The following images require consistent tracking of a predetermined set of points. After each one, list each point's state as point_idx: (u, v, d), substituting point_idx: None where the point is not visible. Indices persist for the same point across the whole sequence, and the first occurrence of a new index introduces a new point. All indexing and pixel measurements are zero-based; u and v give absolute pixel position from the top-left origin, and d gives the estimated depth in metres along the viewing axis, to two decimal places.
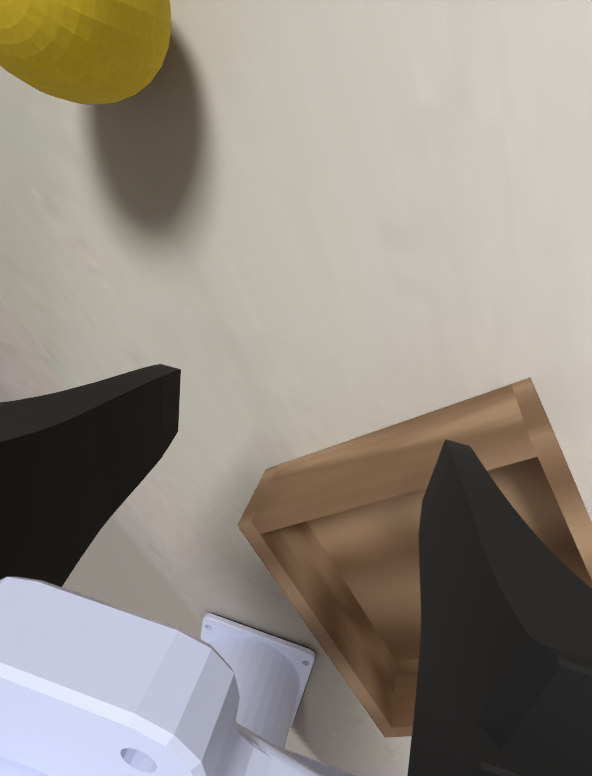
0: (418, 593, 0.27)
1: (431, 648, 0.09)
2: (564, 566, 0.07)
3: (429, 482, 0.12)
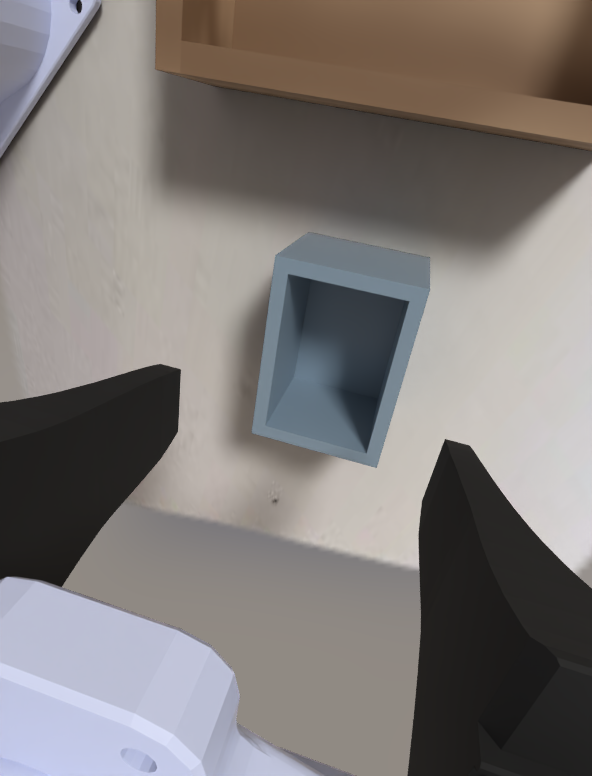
0: None
1: (431, 648, 0.09)
2: (564, 566, 0.07)
3: (429, 482, 0.12)
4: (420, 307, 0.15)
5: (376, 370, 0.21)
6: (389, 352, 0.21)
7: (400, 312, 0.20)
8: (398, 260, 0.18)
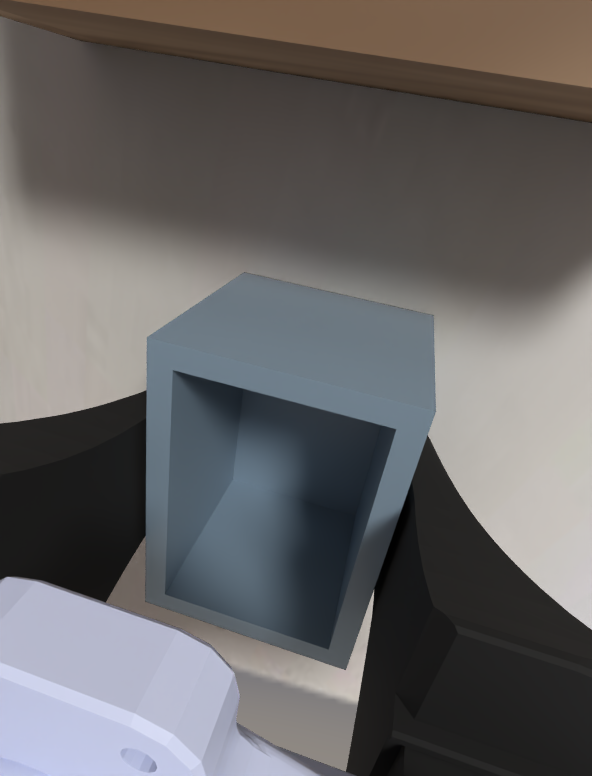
0: None
1: (376, 630, 0.09)
2: (496, 546, 0.08)
3: None
4: (416, 440, 0.08)
5: (352, 477, 0.14)
6: (371, 454, 0.14)
7: None
8: (380, 329, 0.10)
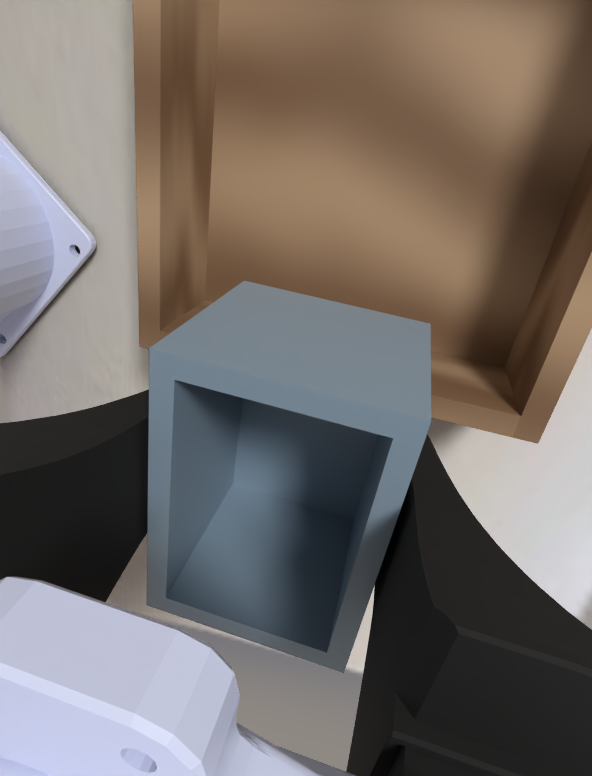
0: (306, 186, 0.17)
1: (376, 630, 0.09)
2: (496, 547, 0.08)
3: None
4: (412, 450, 0.08)
5: (350, 482, 0.14)
6: (369, 459, 0.14)
7: None
8: (378, 338, 0.11)
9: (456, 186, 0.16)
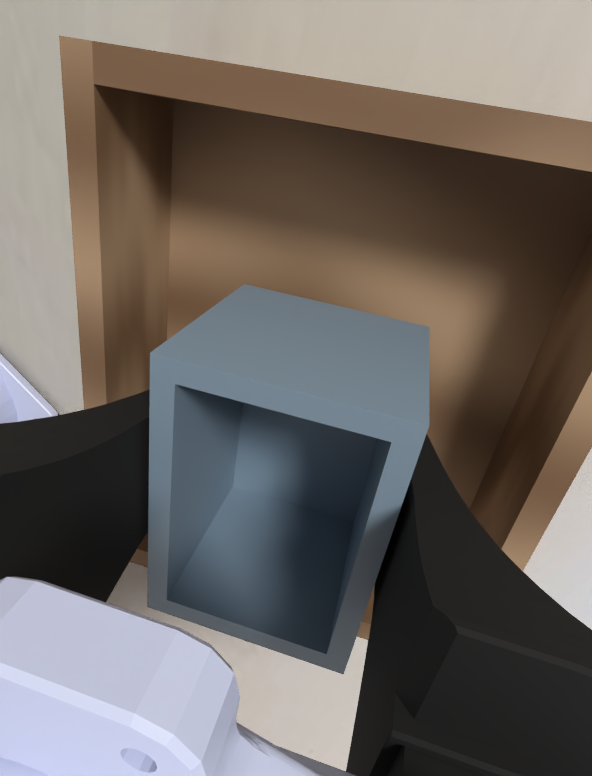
0: None
1: (376, 630, 0.09)
2: (496, 546, 0.08)
3: None
4: (411, 453, 0.08)
5: (350, 484, 0.14)
6: (368, 461, 0.14)
7: None
8: (377, 341, 0.11)
9: None
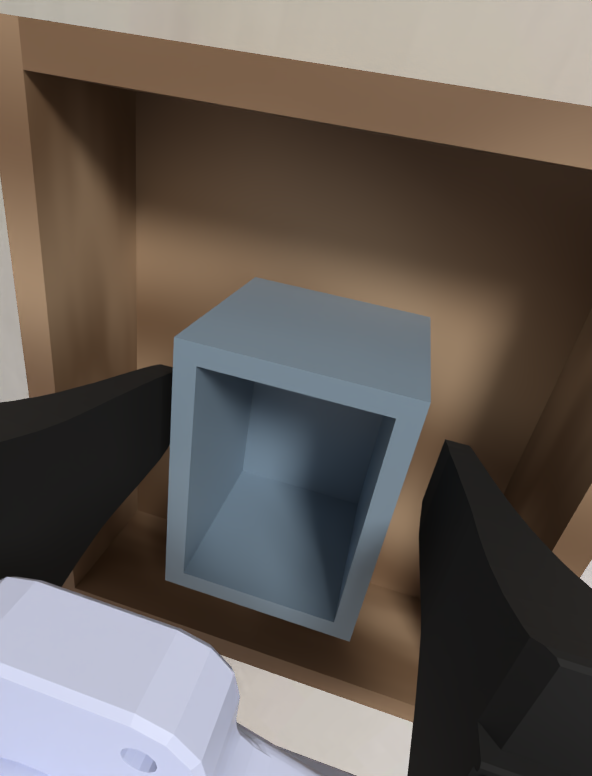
0: None
1: (431, 648, 0.09)
2: (564, 566, 0.07)
3: (429, 482, 0.12)
4: (413, 429, 0.09)
5: (355, 468, 0.15)
6: (372, 446, 0.15)
7: None
8: (382, 329, 0.11)
9: None
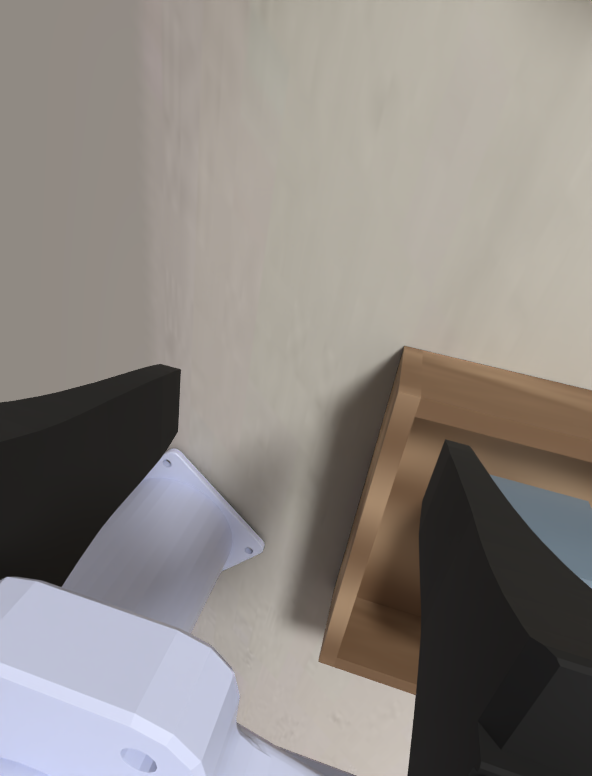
0: None
1: (431, 648, 0.09)
2: (564, 566, 0.07)
3: (429, 482, 0.12)
4: None
5: None
6: None
7: None
8: (572, 522, 0.20)
9: None
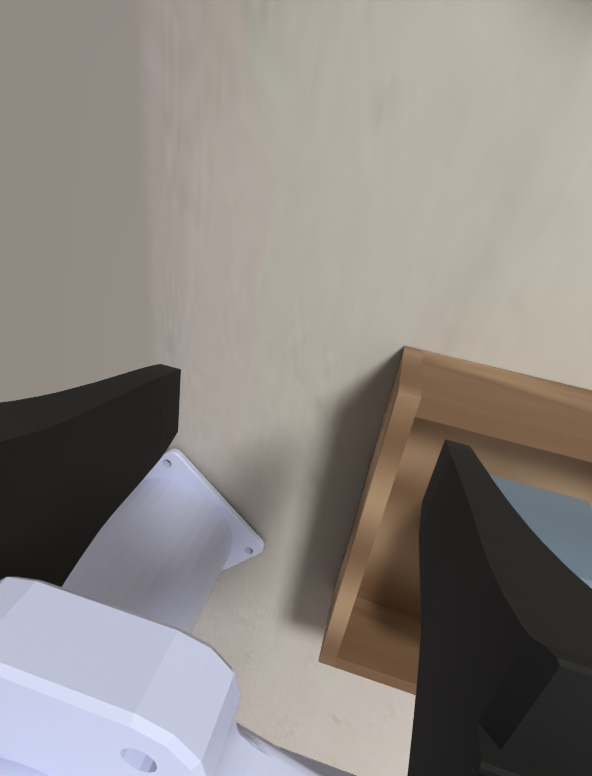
0: None
1: (431, 648, 0.09)
2: (564, 566, 0.07)
3: (429, 482, 0.12)
4: None
5: None
6: None
7: None
8: (572, 522, 0.20)
9: None
